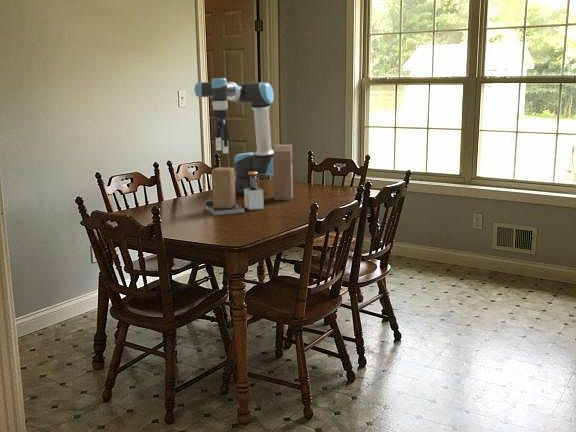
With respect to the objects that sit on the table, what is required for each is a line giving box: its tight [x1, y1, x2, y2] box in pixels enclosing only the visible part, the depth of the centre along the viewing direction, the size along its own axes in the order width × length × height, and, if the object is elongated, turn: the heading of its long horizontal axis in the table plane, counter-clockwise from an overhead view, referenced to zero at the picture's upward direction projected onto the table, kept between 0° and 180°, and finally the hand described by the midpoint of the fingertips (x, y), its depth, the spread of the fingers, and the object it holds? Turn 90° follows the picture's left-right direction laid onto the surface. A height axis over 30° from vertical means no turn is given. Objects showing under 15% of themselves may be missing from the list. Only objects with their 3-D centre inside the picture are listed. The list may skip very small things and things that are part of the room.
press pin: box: [248, 172, 258, 190], centre depth 333 cm, size 5×5×11 cm
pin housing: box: [243, 186, 265, 211], centre depth 334 cm, size 8×8×10 cm
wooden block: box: [210, 167, 237, 208], centre depth 328 cm, size 10×10×20 cm
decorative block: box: [272, 144, 294, 201], centre depth 357 cm, size 10×10×30 cm
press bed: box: [204, 199, 245, 216], centre depth 330 cm, size 18×16×4 cm
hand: (222, 151), depth 324 cm, fingers open, 13 cm apart
